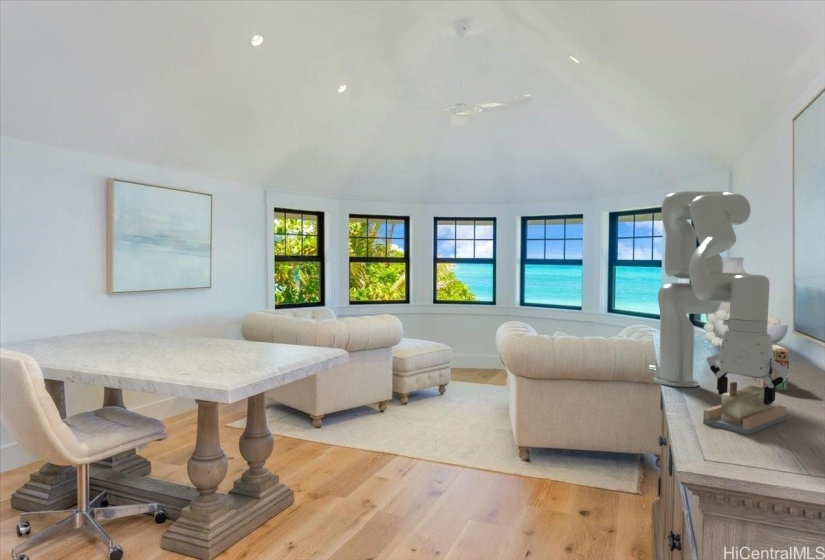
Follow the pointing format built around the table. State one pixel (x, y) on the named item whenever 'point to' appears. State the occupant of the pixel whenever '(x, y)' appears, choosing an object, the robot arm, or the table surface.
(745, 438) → the table surface
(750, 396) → the tapered cream block
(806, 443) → the table surface
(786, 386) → the stack of blocks
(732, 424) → the jig cradle
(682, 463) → the table surface
